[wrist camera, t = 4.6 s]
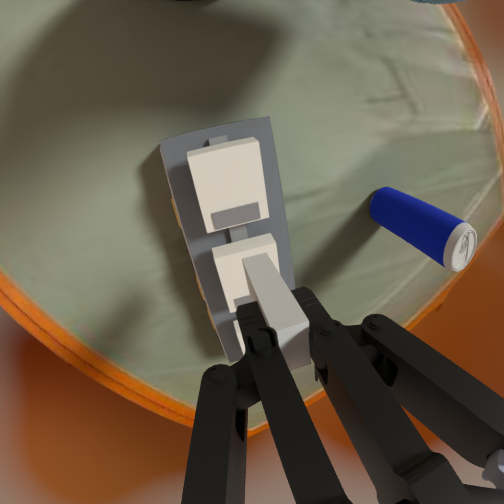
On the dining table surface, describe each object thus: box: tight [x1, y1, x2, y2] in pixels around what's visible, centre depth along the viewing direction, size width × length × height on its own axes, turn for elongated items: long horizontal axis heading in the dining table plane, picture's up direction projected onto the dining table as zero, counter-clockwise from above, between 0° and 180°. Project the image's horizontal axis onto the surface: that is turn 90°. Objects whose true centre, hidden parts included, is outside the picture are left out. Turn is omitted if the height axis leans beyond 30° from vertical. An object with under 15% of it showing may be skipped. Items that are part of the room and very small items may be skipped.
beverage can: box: [369, 187, 477, 271], centre depth 27 cm, size 5×5×15 cm
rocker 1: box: [187, 137, 269, 233], centre depth 23 cm, size 7×6×2 cm
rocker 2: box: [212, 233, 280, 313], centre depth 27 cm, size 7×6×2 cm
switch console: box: [159, 116, 295, 362], centre depth 30 cm, size 28×10×5 cm, turn 11°
